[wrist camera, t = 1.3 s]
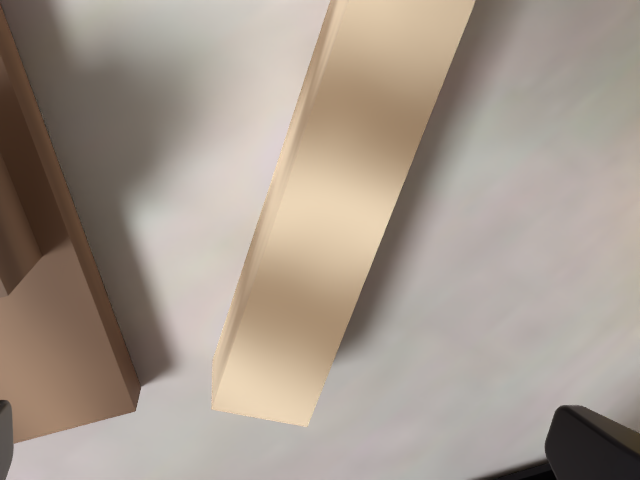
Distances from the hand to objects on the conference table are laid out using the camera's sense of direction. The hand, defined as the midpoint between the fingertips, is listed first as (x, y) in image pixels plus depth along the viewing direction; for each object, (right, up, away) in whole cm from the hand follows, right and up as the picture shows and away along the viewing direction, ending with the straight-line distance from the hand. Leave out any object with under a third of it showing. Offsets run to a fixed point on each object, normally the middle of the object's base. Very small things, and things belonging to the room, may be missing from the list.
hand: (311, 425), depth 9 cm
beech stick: (+1, +8, +10) cm, 13 cm away
